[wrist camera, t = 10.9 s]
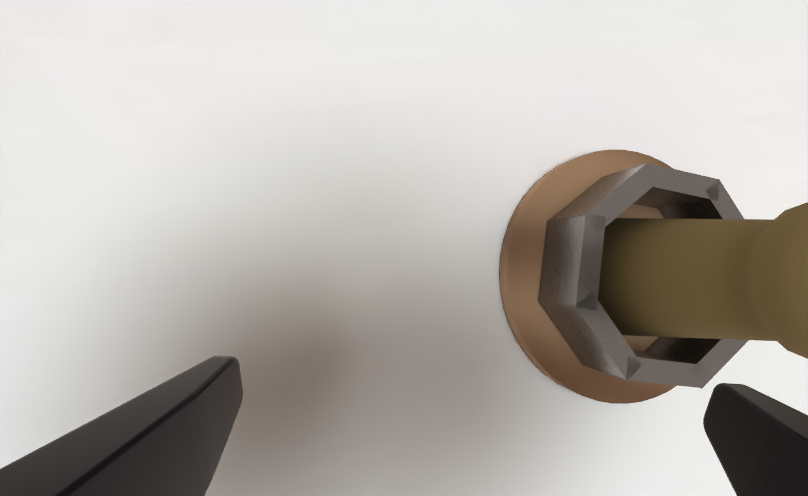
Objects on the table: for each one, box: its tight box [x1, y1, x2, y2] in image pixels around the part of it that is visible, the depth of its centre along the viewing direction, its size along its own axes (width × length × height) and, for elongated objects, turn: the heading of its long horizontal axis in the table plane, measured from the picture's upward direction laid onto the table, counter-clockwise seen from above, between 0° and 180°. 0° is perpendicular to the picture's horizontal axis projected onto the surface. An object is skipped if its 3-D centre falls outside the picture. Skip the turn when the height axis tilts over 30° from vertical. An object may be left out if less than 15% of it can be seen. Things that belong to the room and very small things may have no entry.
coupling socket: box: [499, 150, 748, 403], centre depth 20 cm, size 13×13×4 cm
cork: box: [598, 203, 808, 359], centre depth 16 cm, size 6×6×11 cm
